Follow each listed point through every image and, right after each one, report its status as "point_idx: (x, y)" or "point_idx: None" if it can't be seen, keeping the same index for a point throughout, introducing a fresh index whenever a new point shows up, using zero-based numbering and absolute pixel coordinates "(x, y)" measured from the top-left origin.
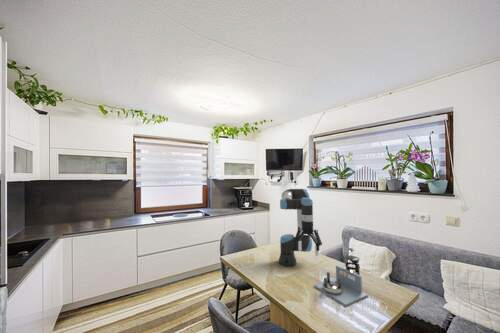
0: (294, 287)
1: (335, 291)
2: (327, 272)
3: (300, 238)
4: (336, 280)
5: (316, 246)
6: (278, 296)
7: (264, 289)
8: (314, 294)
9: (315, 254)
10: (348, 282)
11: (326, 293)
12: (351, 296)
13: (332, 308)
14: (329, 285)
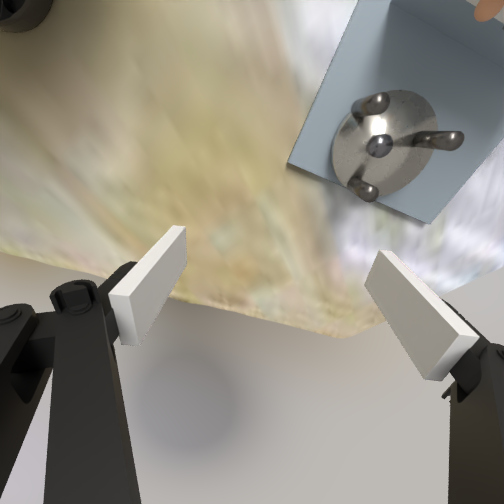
0: (224, 221)
1: (399, 189)
2: (374, 101)
3: (119, 385)
4: (391, 4)
5: (441, 363)
6: (217, 294)
7: None
8: (307, 218)
9: (373, 294)
10: (486, 36)
11: None
12: (462, 149)
13: None
14: (369, 155)
